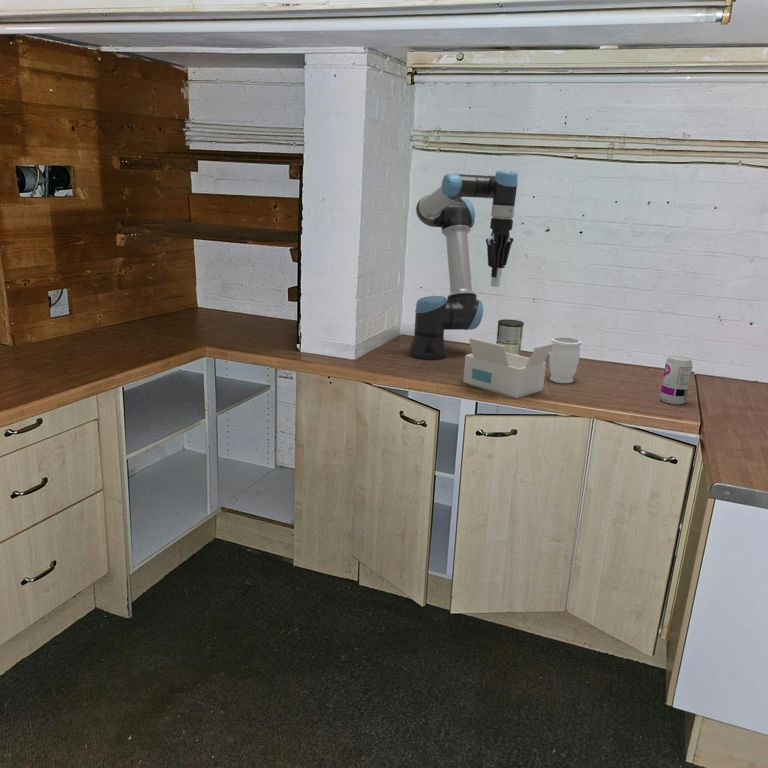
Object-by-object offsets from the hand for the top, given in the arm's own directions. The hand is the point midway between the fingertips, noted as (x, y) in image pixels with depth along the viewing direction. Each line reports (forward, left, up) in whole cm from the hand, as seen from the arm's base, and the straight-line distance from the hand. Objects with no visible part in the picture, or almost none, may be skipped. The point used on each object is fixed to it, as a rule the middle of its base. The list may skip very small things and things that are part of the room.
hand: (494, 286), depth 246 cm
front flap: (+14, -19, -18) cm, 30 cm away
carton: (+14, -9, -32) cm, 36 cm away
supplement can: (+59, +25, -33) cm, 71 cm away
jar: (+22, +16, -33) cm, 42 cm away
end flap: (+26, -9, -18) cm, 33 cm away
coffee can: (-12, +31, -33) cm, 47 cm away
